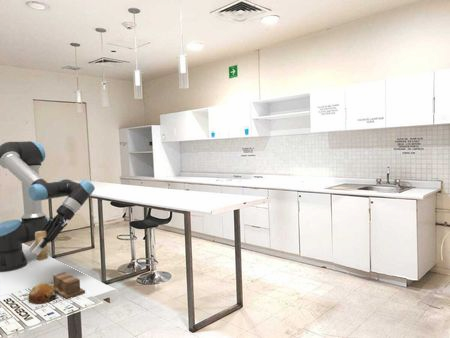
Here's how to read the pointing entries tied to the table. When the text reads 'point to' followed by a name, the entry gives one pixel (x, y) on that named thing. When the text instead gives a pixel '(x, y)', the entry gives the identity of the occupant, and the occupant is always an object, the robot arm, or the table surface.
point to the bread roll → (42, 293)
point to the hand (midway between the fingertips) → (32, 252)
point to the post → (38, 238)
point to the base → (67, 285)
